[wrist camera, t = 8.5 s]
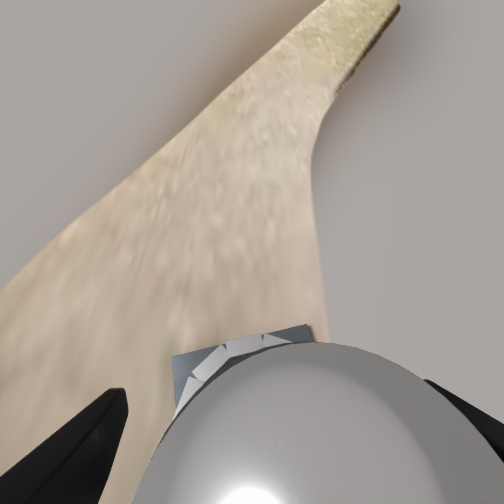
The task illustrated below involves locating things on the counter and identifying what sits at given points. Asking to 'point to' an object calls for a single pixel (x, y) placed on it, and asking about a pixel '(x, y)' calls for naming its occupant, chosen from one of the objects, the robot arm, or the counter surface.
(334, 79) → the counter surface
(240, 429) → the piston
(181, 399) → the sleeve
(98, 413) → the robot arm
